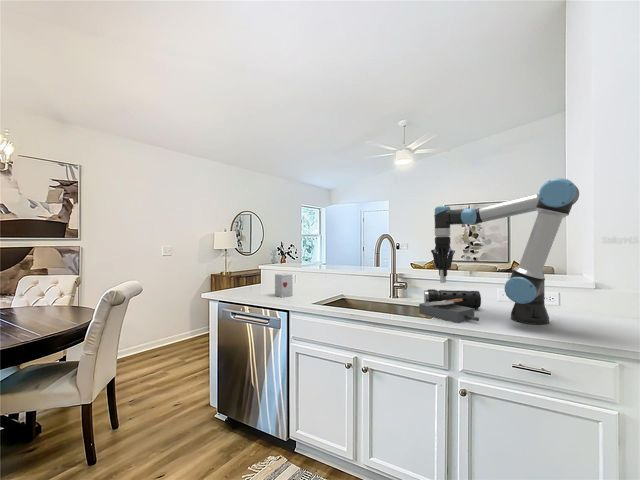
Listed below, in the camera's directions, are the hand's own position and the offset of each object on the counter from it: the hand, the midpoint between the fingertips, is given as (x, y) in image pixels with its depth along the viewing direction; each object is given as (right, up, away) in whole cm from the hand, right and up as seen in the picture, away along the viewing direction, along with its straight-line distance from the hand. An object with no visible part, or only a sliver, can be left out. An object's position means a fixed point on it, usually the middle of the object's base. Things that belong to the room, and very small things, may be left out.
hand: (443, 282), depth 166 cm
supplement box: (-88, -17, +54) cm, 105 cm away
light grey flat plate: (-4, -9, -7) cm, 12 cm away
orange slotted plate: (+2, -9, -3) cm, 10 cm away
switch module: (+1, -16, -8) cm, 18 cm away
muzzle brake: (+9, -16, +12) cm, 22 cm away
